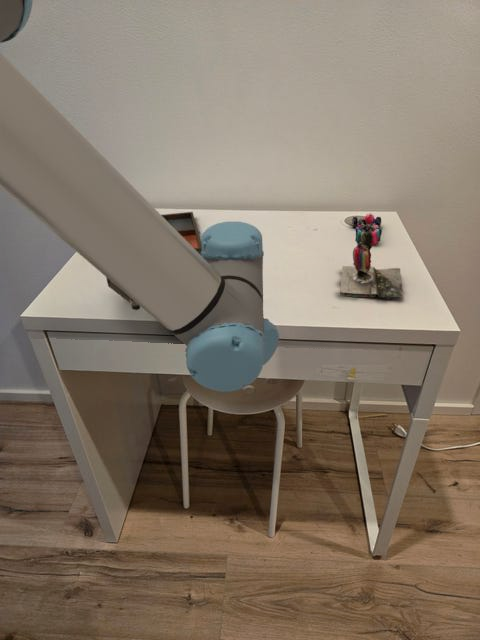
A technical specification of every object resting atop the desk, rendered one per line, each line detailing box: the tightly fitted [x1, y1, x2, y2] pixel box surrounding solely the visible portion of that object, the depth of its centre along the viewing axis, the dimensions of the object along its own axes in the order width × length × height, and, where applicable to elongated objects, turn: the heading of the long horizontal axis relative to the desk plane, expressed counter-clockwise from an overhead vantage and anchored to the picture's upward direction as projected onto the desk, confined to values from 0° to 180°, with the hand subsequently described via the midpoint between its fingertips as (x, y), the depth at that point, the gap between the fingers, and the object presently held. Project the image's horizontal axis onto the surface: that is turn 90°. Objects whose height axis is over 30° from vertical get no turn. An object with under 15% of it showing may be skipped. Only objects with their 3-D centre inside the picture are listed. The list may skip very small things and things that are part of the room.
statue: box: [339, 212, 404, 301], centre depth 79 cm, size 11×9×15 cm
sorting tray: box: [161, 211, 202, 255], centre depth 100 cm, size 18×20×2 cm
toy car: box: [351, 216, 382, 228], centre depth 100 cm, size 12×6×4 cm, turn 177°
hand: (115, 252), depth 81 cm, fingers closed on beverage can, 5 cm apart
